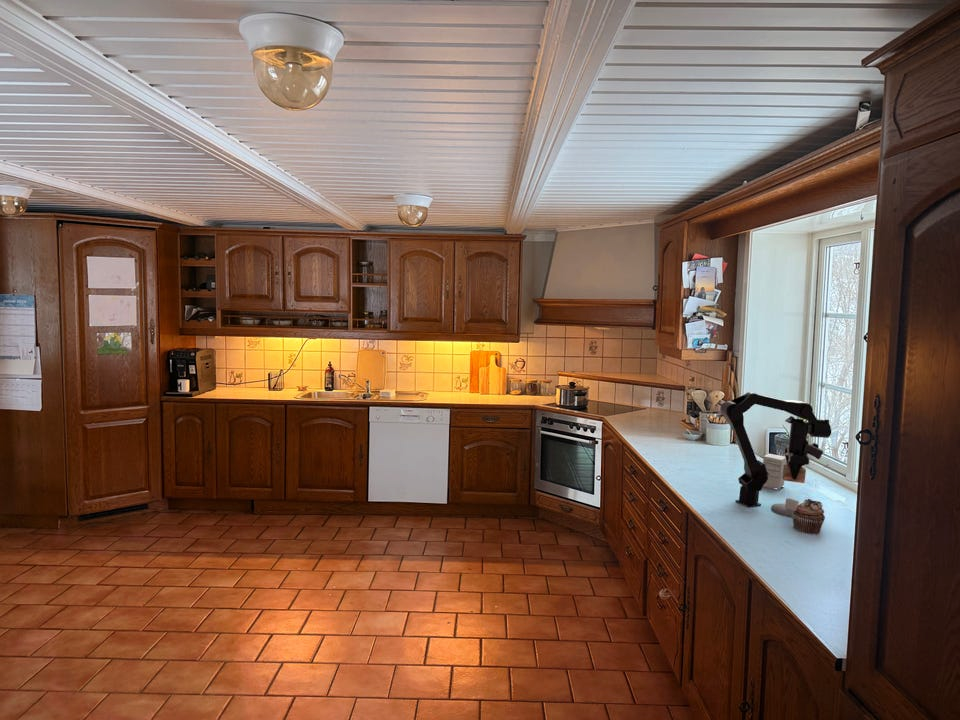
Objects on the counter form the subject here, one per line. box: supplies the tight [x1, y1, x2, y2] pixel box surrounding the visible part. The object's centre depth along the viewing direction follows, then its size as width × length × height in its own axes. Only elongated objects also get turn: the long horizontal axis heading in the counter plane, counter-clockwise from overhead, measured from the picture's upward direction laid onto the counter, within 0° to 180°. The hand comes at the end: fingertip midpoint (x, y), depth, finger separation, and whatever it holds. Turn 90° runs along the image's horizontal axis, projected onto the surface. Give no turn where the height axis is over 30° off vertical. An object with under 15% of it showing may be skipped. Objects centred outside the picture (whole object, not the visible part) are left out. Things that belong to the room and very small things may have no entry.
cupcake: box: [792, 498, 826, 535], centre depth 216 cm, size 10×10×10 cm
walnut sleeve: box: [782, 464, 807, 484], centre depth 241 cm, size 7×4×5 cm, turn 72°
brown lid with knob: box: [771, 497, 800, 518], centre depth 235 cm, size 13×13×4 cm
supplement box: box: [762, 453, 787, 490], centre depth 268 cm, size 7×7×13 cm
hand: (793, 477), depth 241 cm, fingers closed on walnut sleeve, 4 cm apart
